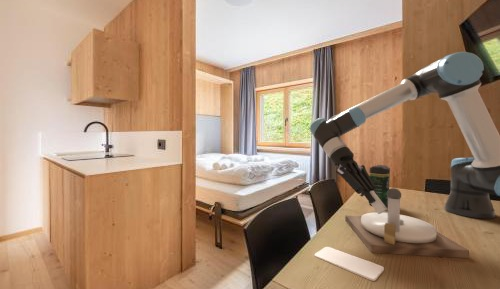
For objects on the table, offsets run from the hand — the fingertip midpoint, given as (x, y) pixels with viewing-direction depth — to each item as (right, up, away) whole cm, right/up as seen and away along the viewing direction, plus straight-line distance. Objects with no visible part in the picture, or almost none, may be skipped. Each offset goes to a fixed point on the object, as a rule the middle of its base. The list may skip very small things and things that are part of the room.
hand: (382, 211), depth 68 cm
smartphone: (-15, -10, -11) cm, 22 cm away
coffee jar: (+21, -8, +39) cm, 45 cm away
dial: (+7, -7, +4) cm, 10 cm away
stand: (+7, -9, +4) cm, 12 cm away
